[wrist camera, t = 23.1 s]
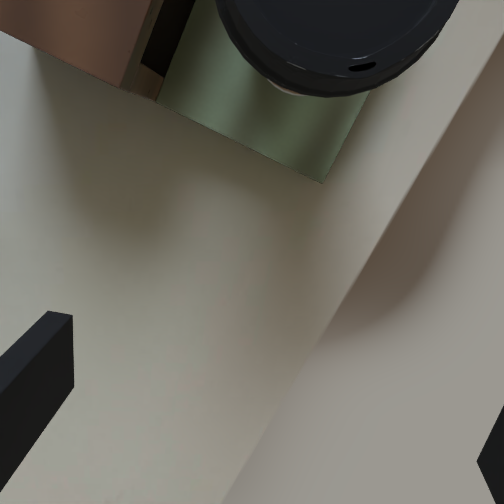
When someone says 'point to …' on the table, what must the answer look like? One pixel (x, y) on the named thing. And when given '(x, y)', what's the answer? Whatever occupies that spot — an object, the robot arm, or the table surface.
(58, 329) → the robot arm
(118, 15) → the step shelf
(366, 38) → the coffee cup
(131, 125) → the table surface
